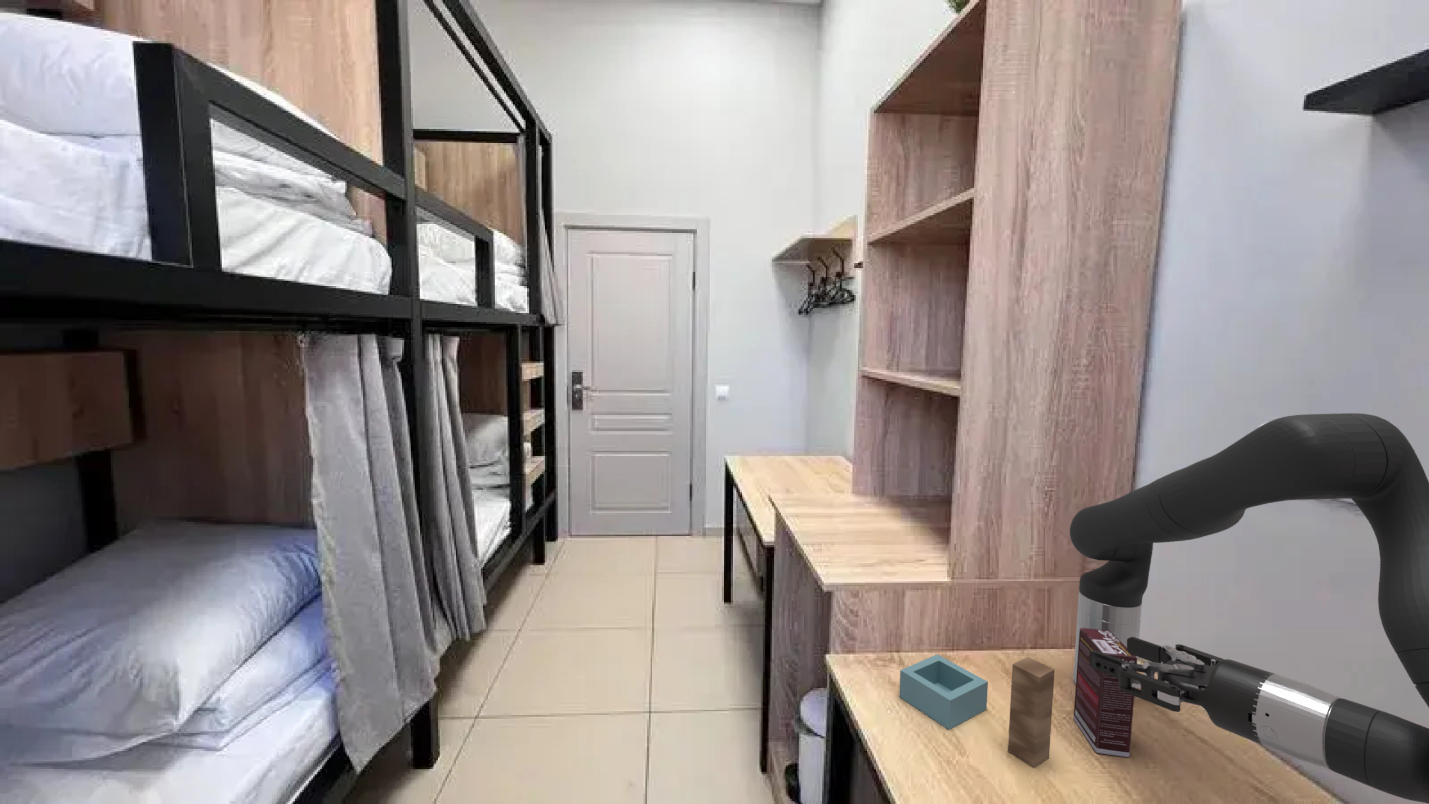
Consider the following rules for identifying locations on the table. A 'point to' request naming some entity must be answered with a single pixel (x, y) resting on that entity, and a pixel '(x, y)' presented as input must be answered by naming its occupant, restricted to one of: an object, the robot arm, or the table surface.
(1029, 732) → the walnut post
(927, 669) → the well
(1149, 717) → the table surface
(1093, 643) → the supplement box
